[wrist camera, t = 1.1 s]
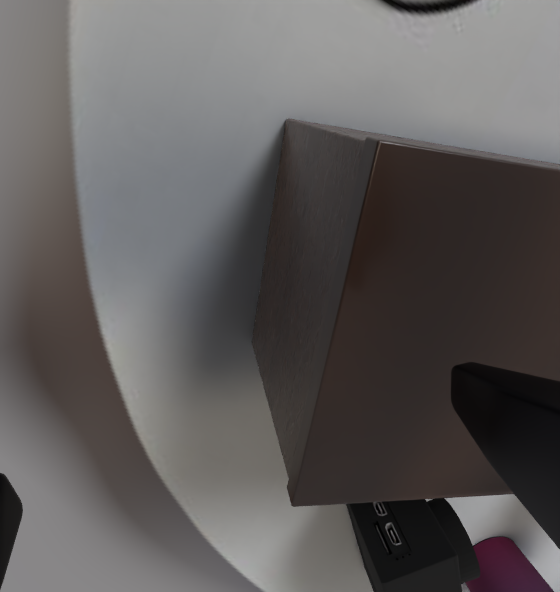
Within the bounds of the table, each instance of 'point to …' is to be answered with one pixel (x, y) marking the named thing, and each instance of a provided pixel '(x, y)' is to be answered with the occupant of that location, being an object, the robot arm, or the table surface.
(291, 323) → the brown box
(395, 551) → the digital camera
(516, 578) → the cup
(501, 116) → the table surface
